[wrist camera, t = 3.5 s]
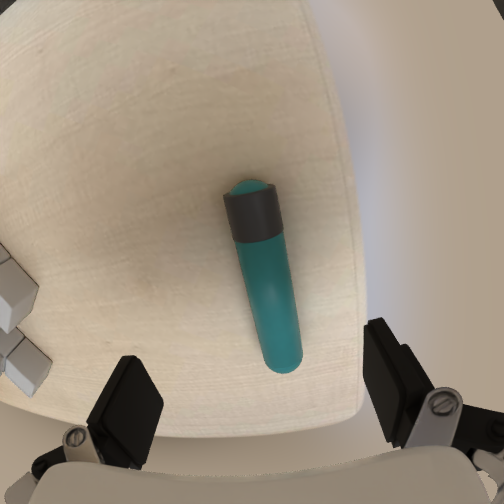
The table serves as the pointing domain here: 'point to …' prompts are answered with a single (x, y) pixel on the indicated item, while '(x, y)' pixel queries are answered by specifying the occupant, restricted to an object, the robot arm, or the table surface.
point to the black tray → (5, 4)
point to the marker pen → (266, 271)
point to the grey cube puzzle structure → (9, 337)
